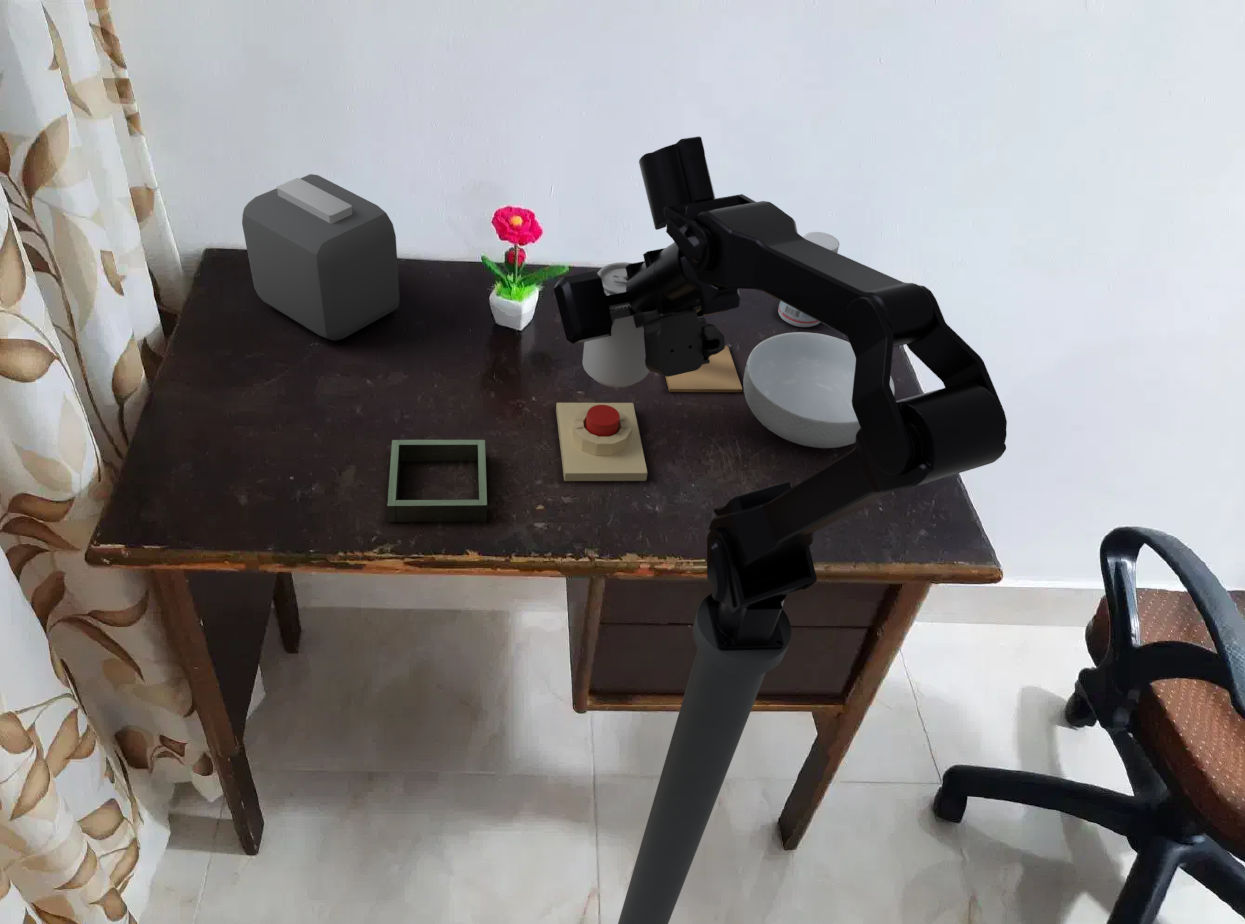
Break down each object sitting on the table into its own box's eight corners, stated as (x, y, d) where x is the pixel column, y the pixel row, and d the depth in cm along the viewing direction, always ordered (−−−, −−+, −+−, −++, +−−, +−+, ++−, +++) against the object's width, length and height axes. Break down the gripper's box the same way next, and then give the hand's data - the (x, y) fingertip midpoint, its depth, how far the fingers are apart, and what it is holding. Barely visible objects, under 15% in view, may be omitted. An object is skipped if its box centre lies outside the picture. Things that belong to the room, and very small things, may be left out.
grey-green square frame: (486, 521, 98) (487, 504, 96) (388, 522, 97) (387, 505, 95) (484, 456, 104) (485, 439, 103) (393, 456, 104) (391, 439, 102)
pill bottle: (831, 325, 127) (855, 249, 119) (792, 332, 125) (814, 256, 117) (806, 300, 130) (828, 225, 122) (768, 307, 129) (788, 232, 121)
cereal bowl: (817, 491, 104) (835, 443, 99) (705, 413, 112) (716, 365, 107) (905, 429, 112) (925, 382, 107) (794, 361, 120) (808, 314, 115)
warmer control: (646, 481, 103) (649, 460, 101) (564, 481, 102) (566, 460, 100) (631, 410, 112) (635, 390, 109) (556, 410, 111) (557, 390, 109)
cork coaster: (741, 392, 115) (742, 389, 115) (669, 392, 114) (669, 389, 114) (727, 348, 121) (727, 345, 121) (658, 348, 121) (658, 344, 120)
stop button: (619, 437, 104) (621, 425, 103) (587, 437, 104) (588, 425, 103) (615, 416, 107) (617, 404, 105) (584, 416, 106) (585, 404, 105)
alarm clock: (400, 318, 122) (393, 205, 111) (333, 356, 115) (318, 240, 104) (316, 269, 128) (301, 158, 117) (248, 303, 122) (225, 189, 111)
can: (658, 386, 104) (675, 291, 95) (594, 396, 102) (605, 299, 94) (634, 348, 109) (647, 253, 100) (572, 356, 107) (581, 261, 99)
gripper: (613, 381, 84) (555, 406, 99) (787, 340, 90) (708, 369, 105) (582, 258, 84) (528, 301, 98) (760, 225, 90) (684, 271, 104)
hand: (615, 314), depth 102 cm, fingers closed on can, 7 cm apart
